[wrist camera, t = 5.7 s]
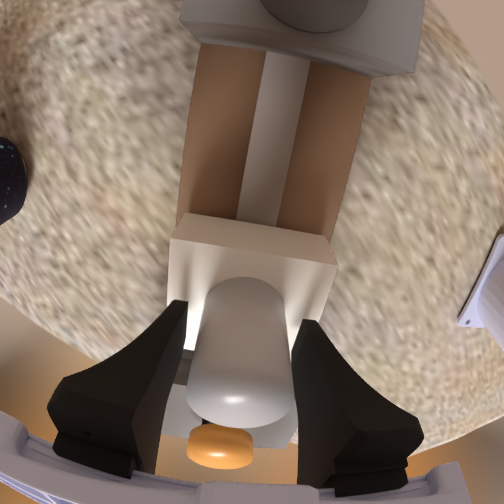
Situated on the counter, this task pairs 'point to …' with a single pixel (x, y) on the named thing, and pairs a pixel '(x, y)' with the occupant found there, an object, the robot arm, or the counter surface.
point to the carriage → (245, 312)
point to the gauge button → (220, 446)
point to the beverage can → (11, 180)
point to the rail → (280, 124)
